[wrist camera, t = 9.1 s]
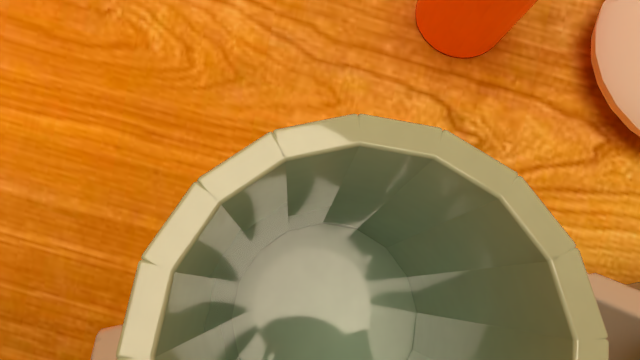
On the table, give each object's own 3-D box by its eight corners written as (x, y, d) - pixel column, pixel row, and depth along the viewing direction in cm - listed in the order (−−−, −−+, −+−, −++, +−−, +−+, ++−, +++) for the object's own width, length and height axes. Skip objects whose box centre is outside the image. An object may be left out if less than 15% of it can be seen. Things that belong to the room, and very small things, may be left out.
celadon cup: (241, 452, 14) (161, 719, 5) (202, 236, 15) (86, 165, 7) (450, 395, 15) (682, 551, 6) (395, 193, 16) (523, 78, 7)
